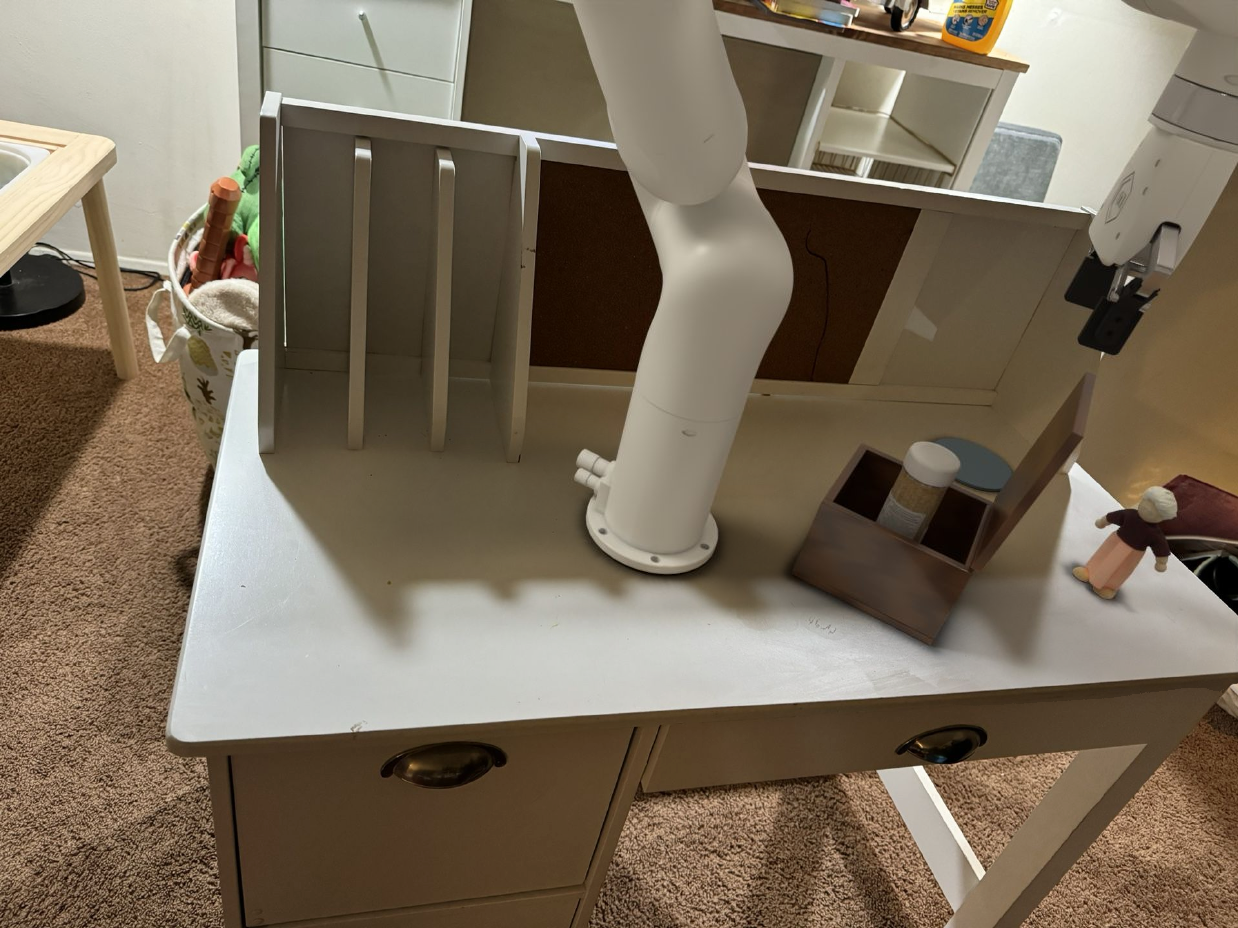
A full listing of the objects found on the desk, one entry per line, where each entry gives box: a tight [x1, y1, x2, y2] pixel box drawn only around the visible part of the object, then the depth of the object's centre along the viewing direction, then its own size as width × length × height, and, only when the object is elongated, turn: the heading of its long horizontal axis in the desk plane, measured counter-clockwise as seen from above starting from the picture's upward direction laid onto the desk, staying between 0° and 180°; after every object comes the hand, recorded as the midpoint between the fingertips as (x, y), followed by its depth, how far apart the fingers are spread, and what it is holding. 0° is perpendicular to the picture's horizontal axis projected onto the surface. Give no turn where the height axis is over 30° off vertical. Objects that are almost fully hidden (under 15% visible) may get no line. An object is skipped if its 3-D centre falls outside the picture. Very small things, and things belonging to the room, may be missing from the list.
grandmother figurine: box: [1071, 485, 1178, 600], centre depth 85 cm, size 8×4×13 cm, turn 40°
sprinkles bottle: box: [876, 441, 961, 543], centre depth 79 cm, size 5×5×14 cm
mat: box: [933, 437, 1013, 492], centre depth 104 cm, size 10×10×1 cm
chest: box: [791, 442, 994, 646], centre depth 81 cm, size 14×13×9 cm
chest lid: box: [971, 371, 1097, 573], centre depth 72 cm, size 14×13×1 cm
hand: (1087, 325), depth 73 cm, fingers open, 9 cm apart
